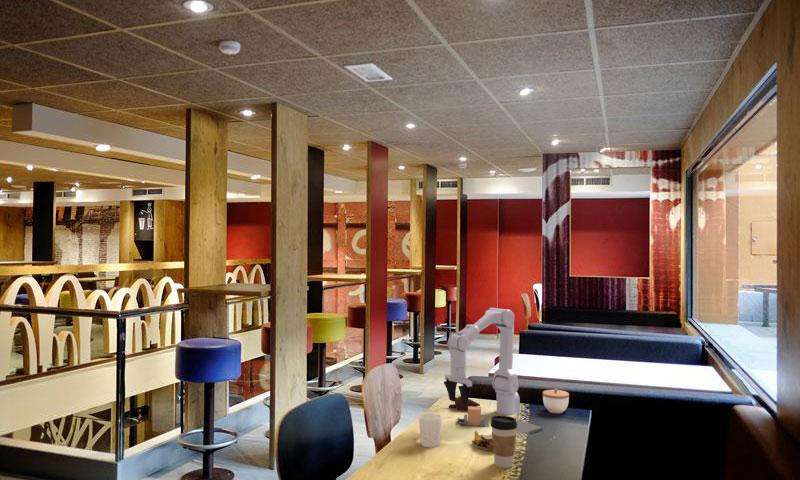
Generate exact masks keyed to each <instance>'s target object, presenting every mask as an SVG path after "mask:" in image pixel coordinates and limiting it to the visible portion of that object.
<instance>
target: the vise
mask: <svg viewBox="0 0 800 480" xmlns="http://www.w3.org/2000/svg"><path fill="white" fill-rule="evenodd" d="M456 420H457V421H456V422H457V423H458V424H459V423H460V424H459V426H460V427H480V428H482V427H483V428H484V427H485V428H489V427H490V421H489V420H487V421H486V415H485V414H481V425H468V414H464V415H463V418H460V417H457V419H456Z"/></svg>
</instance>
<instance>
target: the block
mask: <svg viewBox="0 0 800 480" xmlns="http://www.w3.org/2000/svg"><path fill="white" fill-rule="evenodd" d="M467 421H468V425H481V421H482V407H481V406H477V407H471V406H468V410H467Z"/></svg>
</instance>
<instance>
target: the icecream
mask: <svg viewBox="0 0 800 480" xmlns="http://www.w3.org/2000/svg"><path fill="white" fill-rule="evenodd" d="M448 400H449V401H451V402H454V403H453V404H452V403H451V404H449V405H448V409H455V410H456V409H457V410H459V411H462V412H463V411H466V410H467V411H468V406H471V407H481V404H480V403H478V402H477V401H475V400H473V399H471V398H468V402H467V404H464V405H463V404H462V403H461V395H458V397H457V396H455V399H453V400H450V399H449V398H448Z"/></svg>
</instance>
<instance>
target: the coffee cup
mask: <svg viewBox="0 0 800 480" xmlns="http://www.w3.org/2000/svg"><path fill="white" fill-rule="evenodd" d="M490 421H491V422H490V427H491V435H492V440H493V458H494V459H493V461H494V465H495V466H496V467H497V466H498V468H501V467H502V468H501V469H509V468H512V467H514V459H515V449H516V437H517V431H516V428H517V418H515V417H513V416H509V415H493V416H491V419H490Z"/></svg>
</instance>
